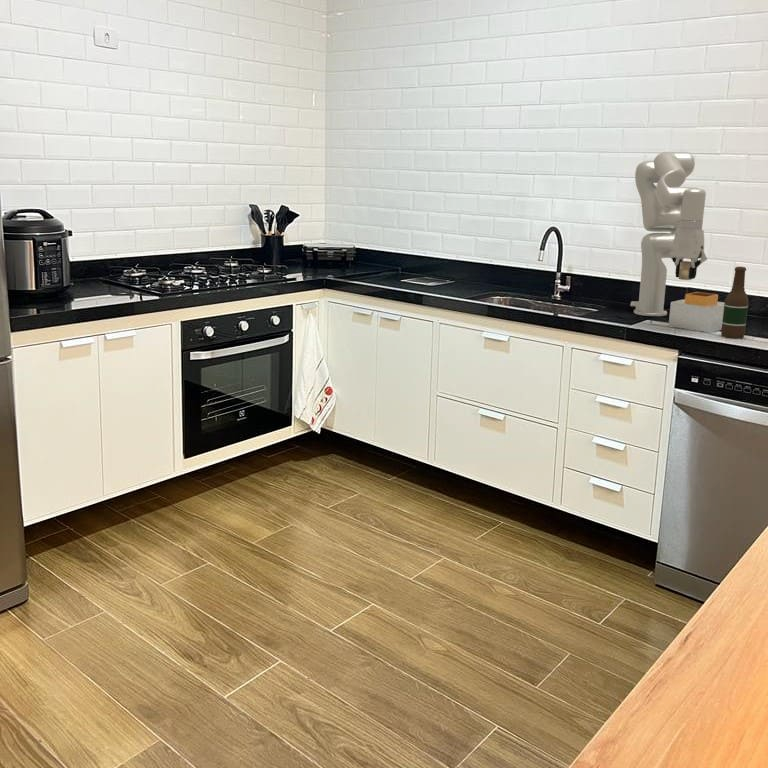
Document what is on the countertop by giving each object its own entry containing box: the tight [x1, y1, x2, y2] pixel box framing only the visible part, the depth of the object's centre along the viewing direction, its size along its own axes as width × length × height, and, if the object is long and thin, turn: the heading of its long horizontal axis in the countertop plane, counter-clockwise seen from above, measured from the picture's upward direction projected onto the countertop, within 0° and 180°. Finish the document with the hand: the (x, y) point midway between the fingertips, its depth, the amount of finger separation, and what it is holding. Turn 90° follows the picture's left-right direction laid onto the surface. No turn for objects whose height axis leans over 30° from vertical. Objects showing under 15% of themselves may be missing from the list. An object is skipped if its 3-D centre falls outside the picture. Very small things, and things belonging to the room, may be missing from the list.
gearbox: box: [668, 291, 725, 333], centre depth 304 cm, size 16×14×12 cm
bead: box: [678, 260, 693, 281], centre depth 294 cm, size 4×4×6 cm
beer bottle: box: [720, 266, 749, 339], centre depth 286 cm, size 8×8×24 cm
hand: (685, 277), depth 295 cm, fingers closed on bead, 4 cm apart
